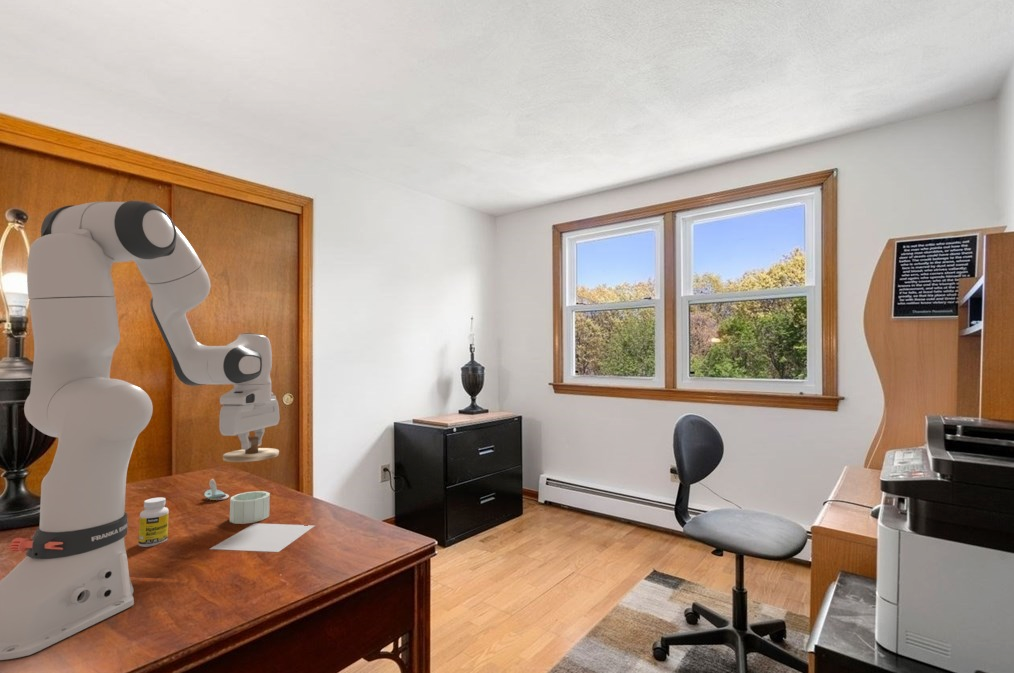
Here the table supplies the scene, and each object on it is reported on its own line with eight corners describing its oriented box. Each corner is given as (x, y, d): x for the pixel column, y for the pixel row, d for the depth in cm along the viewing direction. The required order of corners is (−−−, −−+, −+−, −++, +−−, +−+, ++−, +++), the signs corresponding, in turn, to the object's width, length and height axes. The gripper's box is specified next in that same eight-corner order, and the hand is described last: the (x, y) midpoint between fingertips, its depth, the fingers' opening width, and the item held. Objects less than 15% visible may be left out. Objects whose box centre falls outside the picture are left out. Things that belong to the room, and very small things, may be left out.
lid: (260, 462, 118) (260, 442, 118) (210, 461, 119) (211, 441, 119) (288, 452, 131) (289, 433, 131) (244, 451, 132) (244, 433, 132)
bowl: (255, 526, 119) (255, 501, 120) (221, 524, 120) (222, 500, 120) (276, 514, 128) (276, 491, 129) (244, 513, 129) (245, 490, 129)
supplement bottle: (142, 549, 105) (144, 504, 105) (134, 543, 108) (136, 500, 108) (171, 542, 109) (172, 499, 109) (163, 536, 112) (164, 494, 113)
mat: (278, 554, 102) (278, 551, 102) (209, 551, 104) (209, 548, 104) (315, 527, 118) (315, 525, 118) (254, 525, 120) (254, 523, 120)
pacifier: (225, 495, 147) (202, 498, 143) (226, 474, 147) (204, 477, 143) (231, 500, 142) (208, 503, 137) (233, 478, 142) (210, 481, 138)
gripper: (265, 391, 136) (264, 440, 136) (214, 398, 116) (213, 455, 115) (286, 391, 136) (285, 440, 135) (239, 398, 115) (237, 455, 115)
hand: (251, 447), depth 125 cm, fingers closed on lid, 3 cm apart
